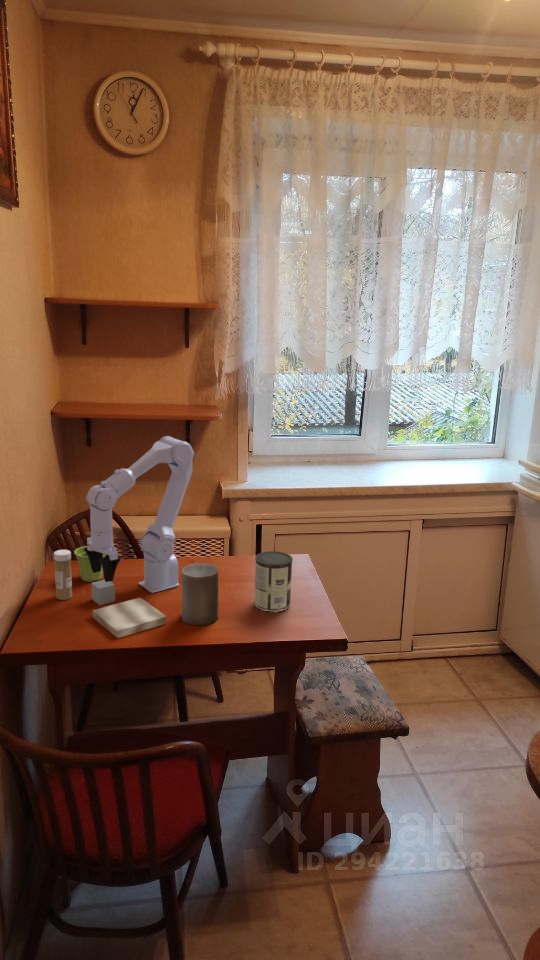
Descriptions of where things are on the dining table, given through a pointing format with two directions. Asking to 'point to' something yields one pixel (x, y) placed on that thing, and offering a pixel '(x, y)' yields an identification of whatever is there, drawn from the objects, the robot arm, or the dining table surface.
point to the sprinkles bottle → (63, 574)
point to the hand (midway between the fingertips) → (102, 576)
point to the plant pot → (86, 566)
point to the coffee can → (273, 581)
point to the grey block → (103, 592)
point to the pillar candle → (200, 594)
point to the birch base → (129, 617)
